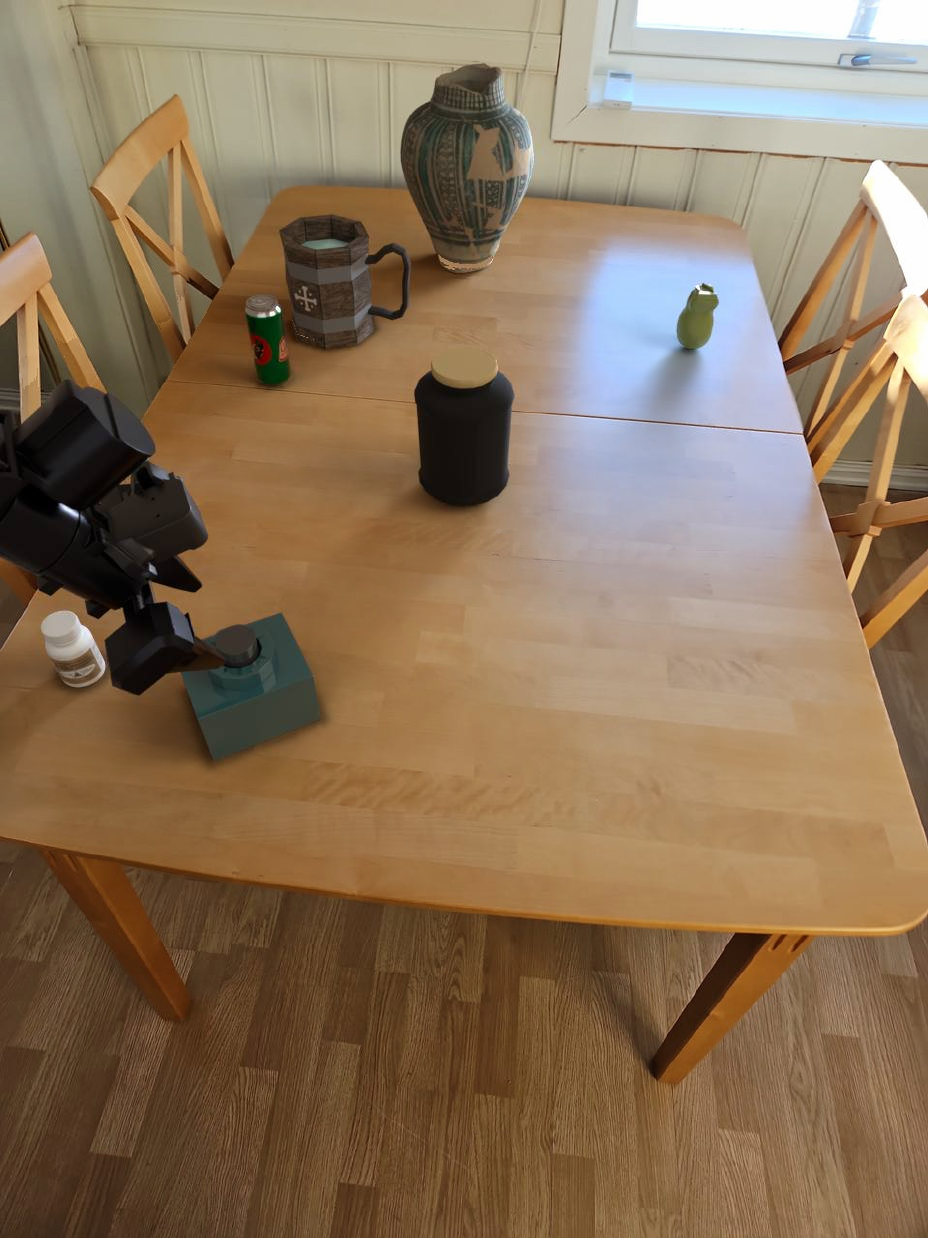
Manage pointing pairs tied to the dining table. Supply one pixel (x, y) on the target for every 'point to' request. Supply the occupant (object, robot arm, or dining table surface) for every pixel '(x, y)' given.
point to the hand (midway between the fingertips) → (209, 624)
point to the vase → (467, 163)
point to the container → (464, 427)
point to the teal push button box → (254, 692)
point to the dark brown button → (237, 646)
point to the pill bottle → (72, 649)
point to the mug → (334, 280)
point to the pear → (697, 317)
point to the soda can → (268, 339)
